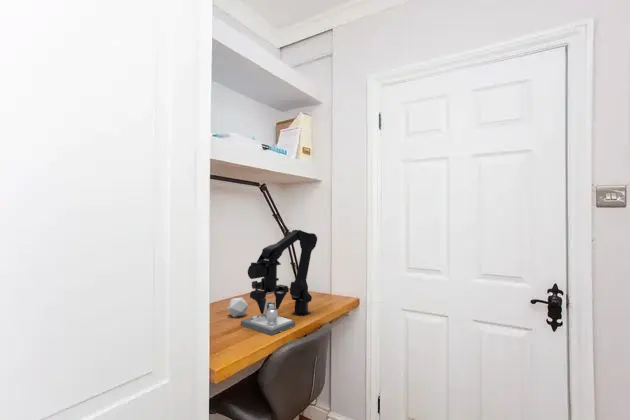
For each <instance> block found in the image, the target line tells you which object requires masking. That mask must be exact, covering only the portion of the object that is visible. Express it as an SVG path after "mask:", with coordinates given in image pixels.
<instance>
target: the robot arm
mask: <svg viewBox="0 0 630 420" xmlns="http://www.w3.org/2000/svg"><path fill="white" fill-rule="evenodd" d="M297 241H299V246H300V249H301V252H300V256H299V261H298V268H297V272H296V278H295V280H294V281H291V282H290V287H288V285H285V284H277V283H278V282H279V280H280V278H279V277H277V276H278V273H277V272H278V269H277V268H278V266H281V262H280V261H279V259H280V257H281V256H283V254H284V251H285V250H286V249H288V248H289V247H290V246H292V245H293V244H295V243H296V242H297ZM317 242H318V236H317V235H316V234H315V233H312V232H310V233H309V232H306V231H303V230H301V229H293V230H292V231H291V232H290V233H288V234H287V235H286V236H284V237H283V238H282V239H280V240H278V242H276V243H274V244H270V245H267V246H266V247H263V249H262V251H261V254H260V255H259V257H258V258H257V261H256V262H254V261H253V262H250V265H249V267H248V268H247V275H248V278H249V279H251V280H253V281H251V288H252V289H253V290H252V291H250V293H249V298H250V299H252V300H254V301H255V302H256V303H257V306H258V309H259V312H260V315H261V314H264V313H265V303H266V302H267V298H266V297H267V295H271V294H273V295H274V296H275V297H274V298H275V308H276V309H277V310H279V308H280V307H281V304H282V302H283V300H284V299H285V296H286V295H287V293H289V295H290V296H291V300H292V301H294V311H293V312H292V314H293V315H297V314H298V315H297V316H301V315H303V316H306V315H308V313H309V314H311V311H309V303H311V302H312V298H313V296H312V295H311V294H310V293H309V286H308V283H307V277H308V271H309V266H310V262H311V255H312V251H313V250H314V249H315V248H316V246H317ZM254 279H261V280H260V281H257V280H254ZM305 314H306V315H305Z"/></svg>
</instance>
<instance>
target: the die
mask: <svg viewBox="0 0 630 420" xmlns="http://www.w3.org/2000/svg"><path fill="white" fill-rule="evenodd" d="M248 306H249V304H248V303H247V302H246V301H245V299H244V298H243V297H236V298H235V297H234V298H231V299H230V301H229V304H228V307H226V309H227V312H229V314H230V315H231V317H233V318H237V317H238V318H239V317H244V316H245V314H246V313H247V312H246V311H247V309H248Z"/></svg>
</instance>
